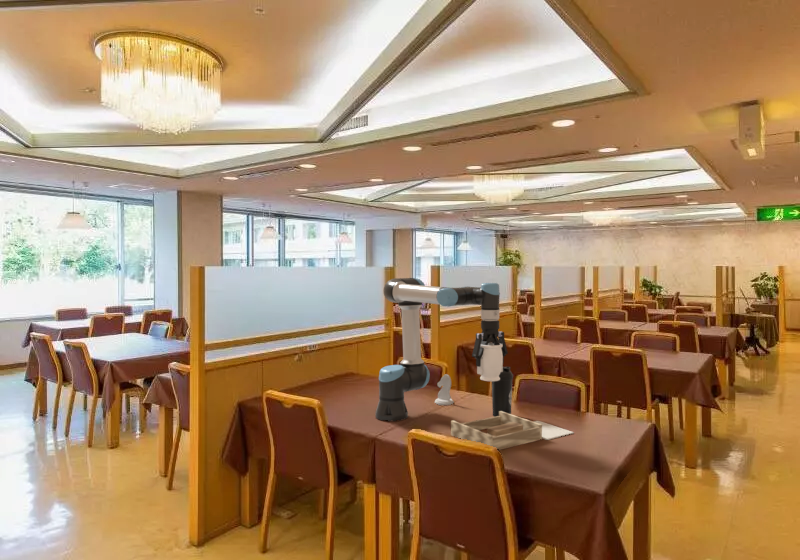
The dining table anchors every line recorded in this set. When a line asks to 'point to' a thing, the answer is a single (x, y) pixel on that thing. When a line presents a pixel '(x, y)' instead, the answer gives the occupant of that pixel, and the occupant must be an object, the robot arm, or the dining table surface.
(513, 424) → the offcut stack
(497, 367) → the jar
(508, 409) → the water bottle
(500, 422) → the rack
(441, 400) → the chess piece
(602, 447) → the dining table surface
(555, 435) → the mat
